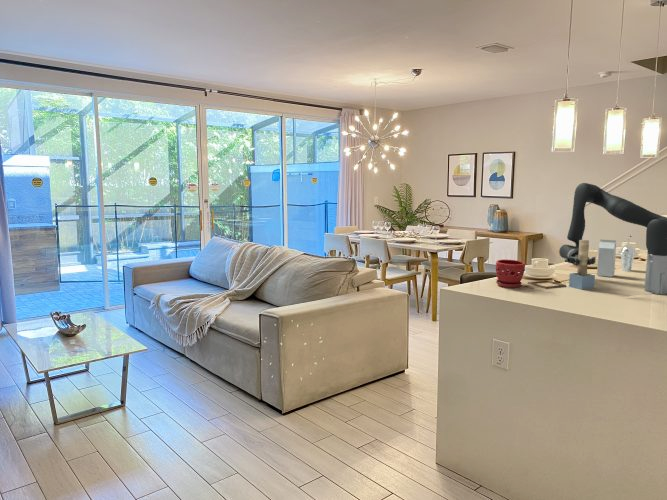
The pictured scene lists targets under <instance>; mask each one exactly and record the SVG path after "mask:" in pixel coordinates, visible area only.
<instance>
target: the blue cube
mask: <svg viewBox="0 0 667 500" xmlns="http://www.w3.org/2000/svg"><path fill="white" fill-rule="evenodd" d="M595 279H596V275H595V274H591V273H587V276H580V275H577V272H572V273H569V279H568V280H569V281H568V287H569V288H573V289H575V290H576V289H577V290H581V291H583V290H584V291H585V290H593V289H595V281H596V280H595Z"/></svg>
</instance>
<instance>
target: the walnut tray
mask: <svg viewBox="0 0 667 500" xmlns="http://www.w3.org/2000/svg"><path fill="white" fill-rule="evenodd" d="M541 283H550V284H553V285H547V286H545V285H542V284H541ZM527 285H530V286H534V287H538V288H541V289H545V290H547V289H556V288H566V287H567V284H564V283H561V282H556V281H552V280H549V279H548V280H545V279H544V280H536V281H527Z"/></svg>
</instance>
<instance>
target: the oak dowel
mask: <svg viewBox="0 0 667 500" xmlns="http://www.w3.org/2000/svg"><path fill="white" fill-rule="evenodd" d="M589 244H590V240H588V239H582V240H579V254H578V259H579V260H580V263H579V265H578V266H577V270H576V271H577V272H576V273H577V275H580V276H587V274H588V267H589V265H588V257H589V248H590V247H589V246H590V245H589Z"/></svg>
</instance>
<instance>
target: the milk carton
mask: <svg viewBox="0 0 667 500" xmlns="http://www.w3.org/2000/svg"><path fill="white" fill-rule="evenodd" d="M616 242H617V240H614V239H600V241H599V245H598V253H597V265H596V266H597V267H596V276H599V277H608V278H613V277H614V275H615V269H616V268H615V266H616V254H617V243H616Z"/></svg>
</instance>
